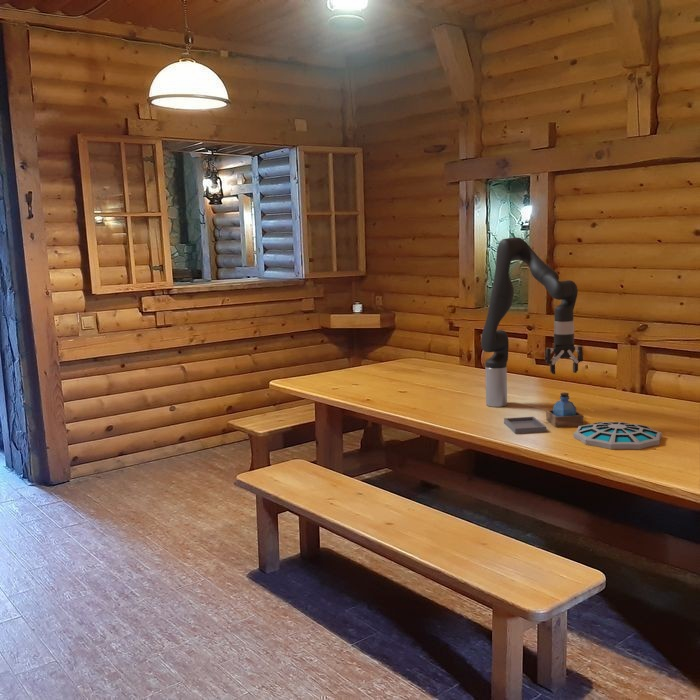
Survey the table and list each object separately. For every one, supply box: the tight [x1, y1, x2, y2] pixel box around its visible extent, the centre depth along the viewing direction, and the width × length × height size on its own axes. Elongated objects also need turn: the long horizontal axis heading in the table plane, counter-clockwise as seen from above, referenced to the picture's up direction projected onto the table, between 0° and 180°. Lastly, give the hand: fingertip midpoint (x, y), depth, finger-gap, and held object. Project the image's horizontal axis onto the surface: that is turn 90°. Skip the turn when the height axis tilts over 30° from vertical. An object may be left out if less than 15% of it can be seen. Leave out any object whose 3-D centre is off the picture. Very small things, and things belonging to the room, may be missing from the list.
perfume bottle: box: [552, 392, 577, 417], centre depth 287 cm, size 6×6×12 cm
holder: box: [545, 409, 585, 428], centre depth 288 cm, size 11×11×4 cm
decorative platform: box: [573, 421, 663, 450], centre depth 265 cm, size 31×29×5 cm
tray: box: [503, 416, 547, 435], centre depth 284 cm, size 16×12×2 cm
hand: (564, 373), depth 285 cm, fingers open, 8 cm apart
